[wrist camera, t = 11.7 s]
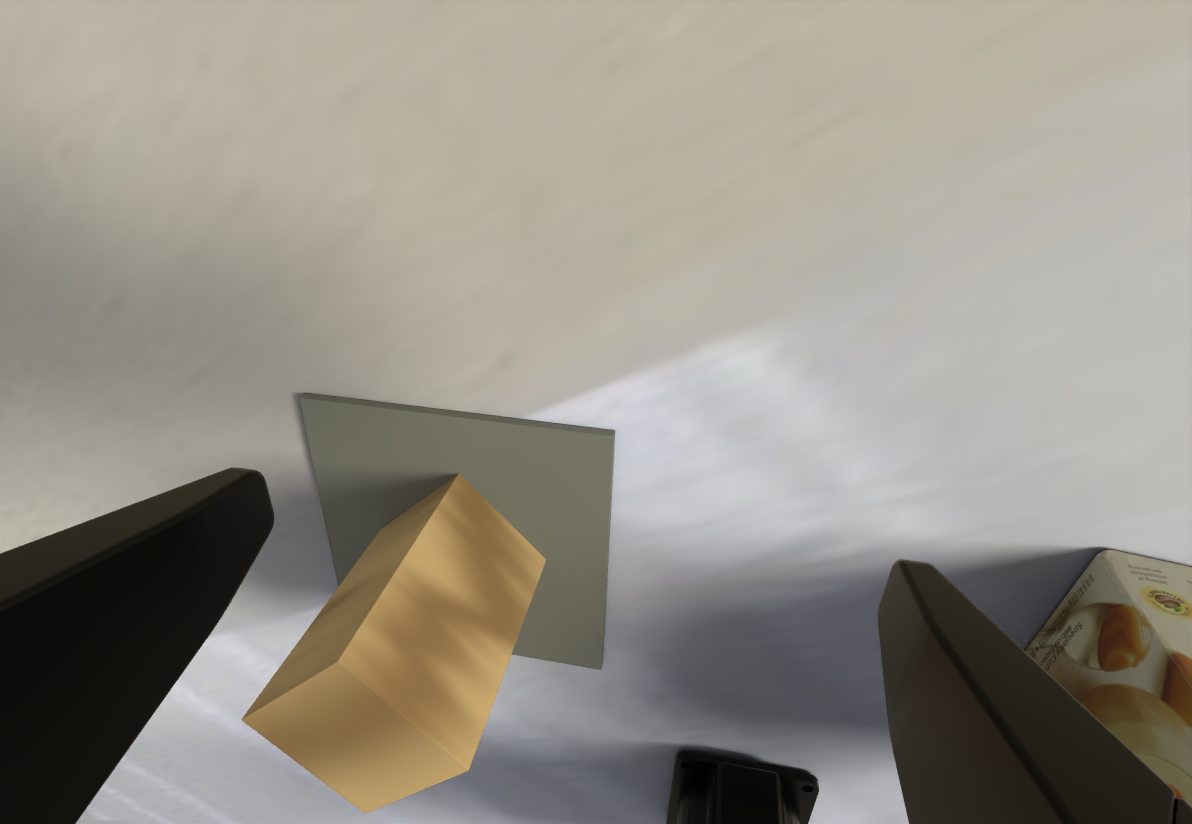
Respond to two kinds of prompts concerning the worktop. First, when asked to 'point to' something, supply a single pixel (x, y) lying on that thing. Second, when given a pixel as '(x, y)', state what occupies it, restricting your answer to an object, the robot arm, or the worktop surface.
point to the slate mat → (500, 475)
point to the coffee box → (1129, 657)
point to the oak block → (406, 652)
